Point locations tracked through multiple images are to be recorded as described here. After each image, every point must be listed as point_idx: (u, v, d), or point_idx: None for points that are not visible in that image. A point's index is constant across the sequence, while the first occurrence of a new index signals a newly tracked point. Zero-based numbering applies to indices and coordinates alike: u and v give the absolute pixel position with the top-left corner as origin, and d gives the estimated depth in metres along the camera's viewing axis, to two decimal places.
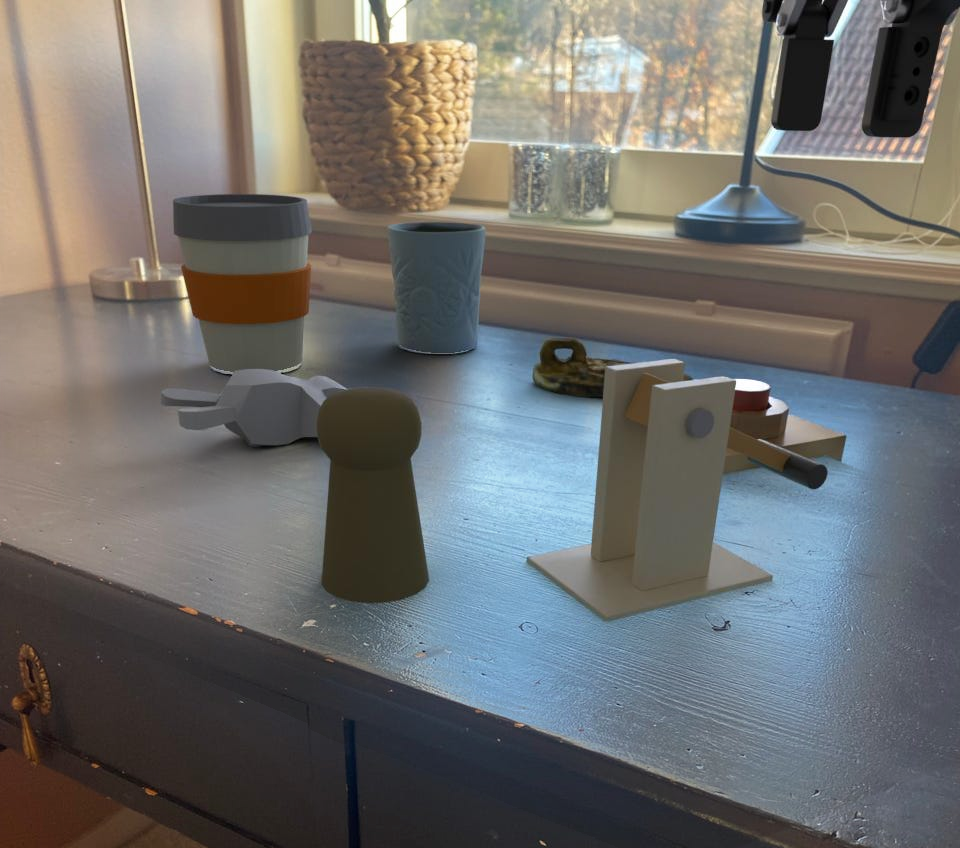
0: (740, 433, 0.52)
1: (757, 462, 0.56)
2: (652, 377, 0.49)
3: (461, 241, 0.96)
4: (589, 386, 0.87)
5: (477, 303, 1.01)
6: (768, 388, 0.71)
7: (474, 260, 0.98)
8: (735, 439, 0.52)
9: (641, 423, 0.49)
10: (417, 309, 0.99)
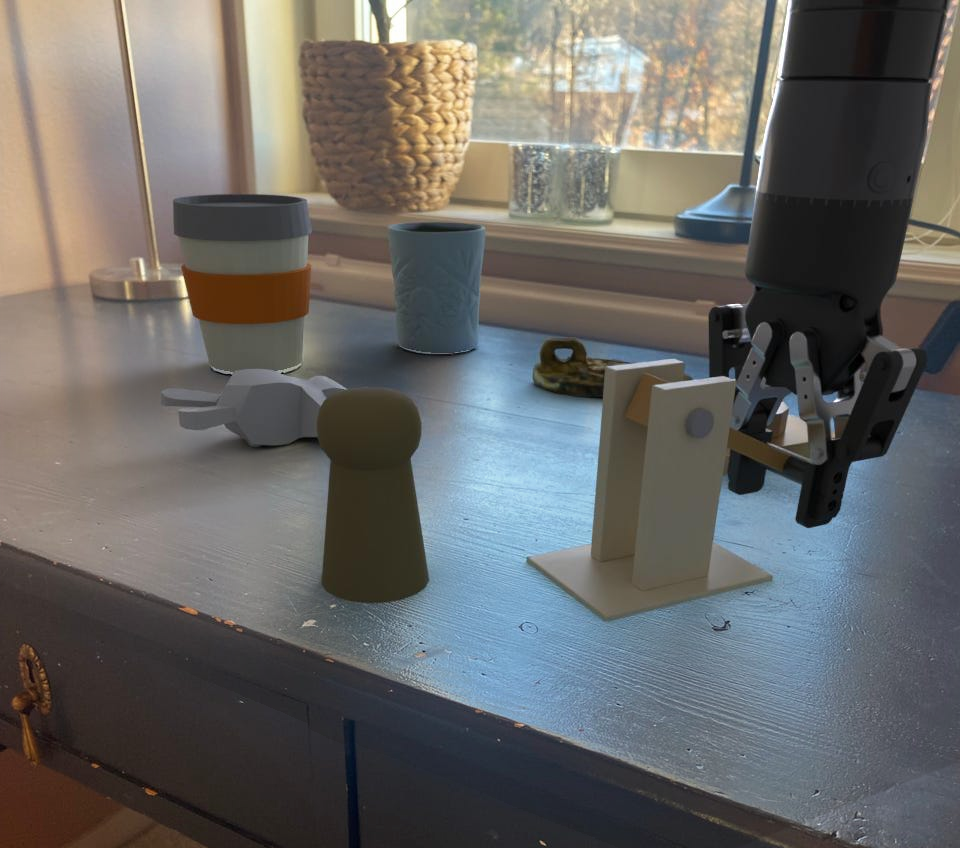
0: (740, 433, 0.52)
1: (757, 462, 0.56)
2: (652, 377, 0.49)
3: (461, 241, 0.96)
4: (589, 386, 0.87)
5: (477, 303, 1.01)
6: None
7: (474, 260, 0.98)
8: (735, 439, 0.52)
9: (641, 423, 0.49)
10: (417, 309, 0.99)
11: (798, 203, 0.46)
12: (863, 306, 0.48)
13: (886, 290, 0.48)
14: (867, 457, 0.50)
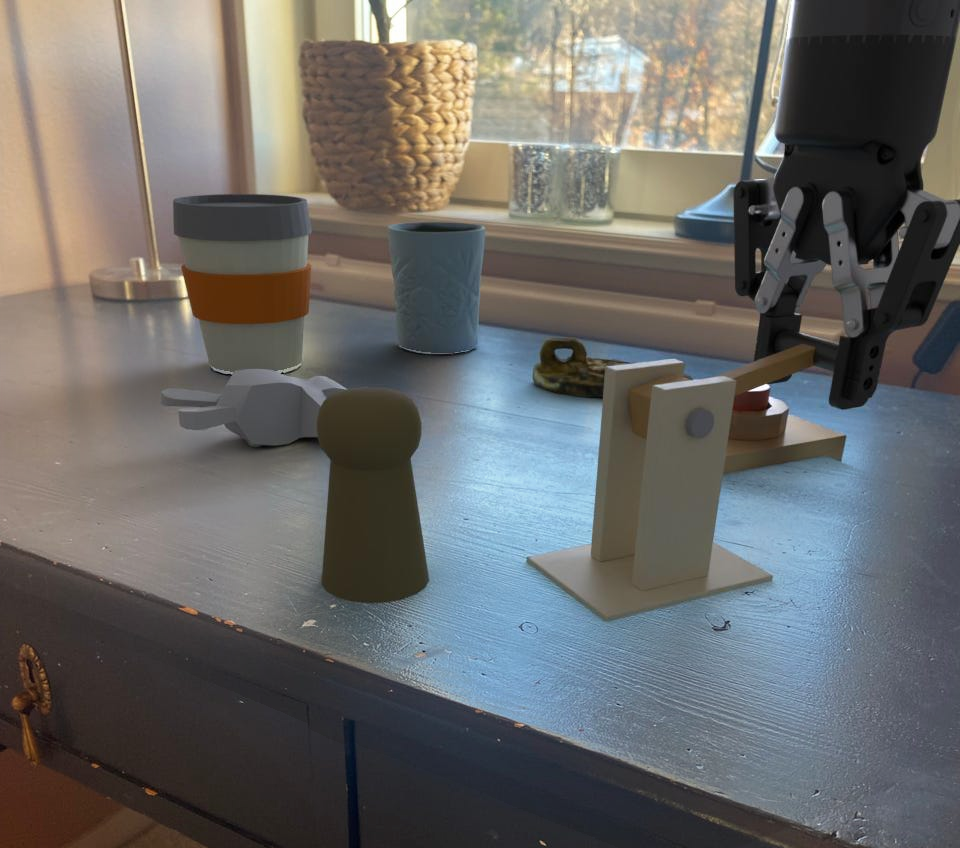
0: (751, 373, 0.50)
1: None
2: (638, 394, 0.49)
3: (461, 241, 0.96)
4: (589, 386, 0.87)
5: (477, 303, 1.01)
6: (768, 388, 0.71)
7: (474, 260, 0.98)
8: (749, 381, 0.50)
9: None
10: (417, 309, 0.99)
11: (834, 42, 0.43)
12: (902, 156, 0.45)
13: (927, 141, 0.45)
14: (907, 324, 0.47)
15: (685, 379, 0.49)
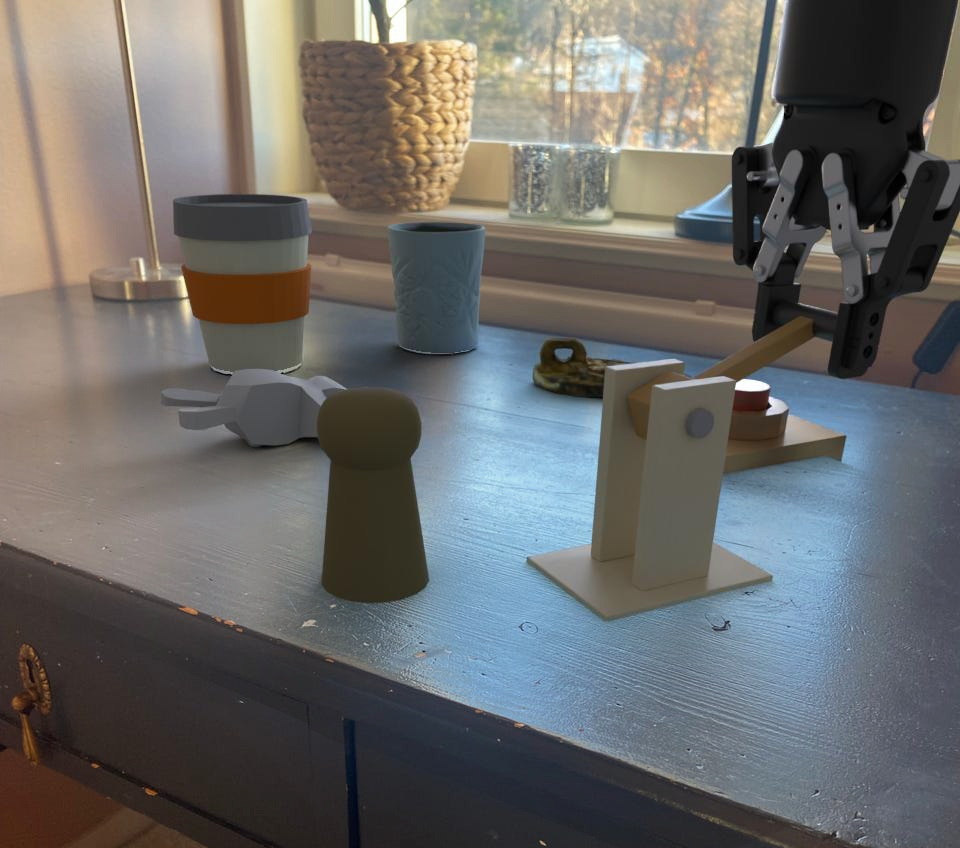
0: (749, 358, 0.50)
1: None
2: (635, 400, 0.49)
3: (461, 241, 0.96)
4: (589, 386, 0.87)
5: (477, 303, 1.01)
6: (768, 388, 0.71)
7: (474, 260, 0.98)
8: (748, 366, 0.50)
9: None
10: (417, 309, 0.99)
11: None
12: (904, 115, 0.44)
13: (929, 100, 0.44)
14: (908, 289, 0.46)
15: (681, 377, 0.49)
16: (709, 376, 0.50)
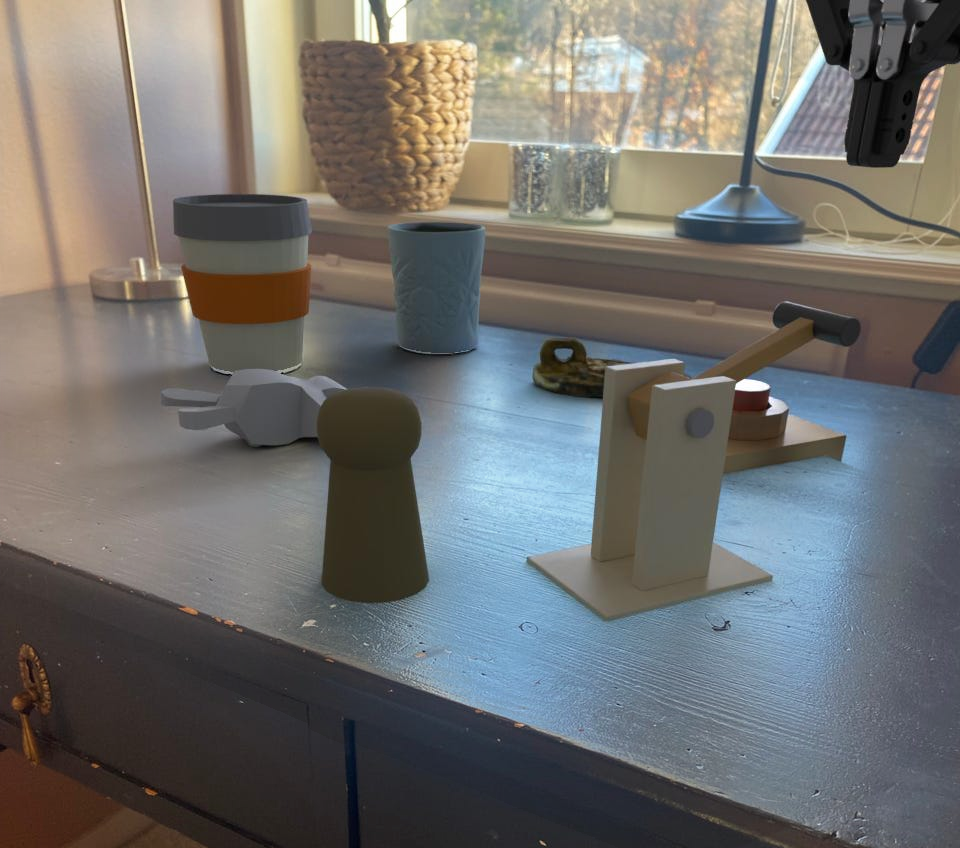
0: (749, 359, 0.50)
1: None
2: (635, 400, 0.49)
3: (461, 241, 0.96)
4: (589, 386, 0.87)
5: (477, 303, 1.01)
6: (768, 388, 0.71)
7: (474, 260, 0.98)
8: (748, 367, 0.50)
9: None
10: (417, 309, 0.99)
11: None
12: None
13: None
14: (945, 56, 0.44)
15: (682, 377, 0.49)
16: (709, 376, 0.50)
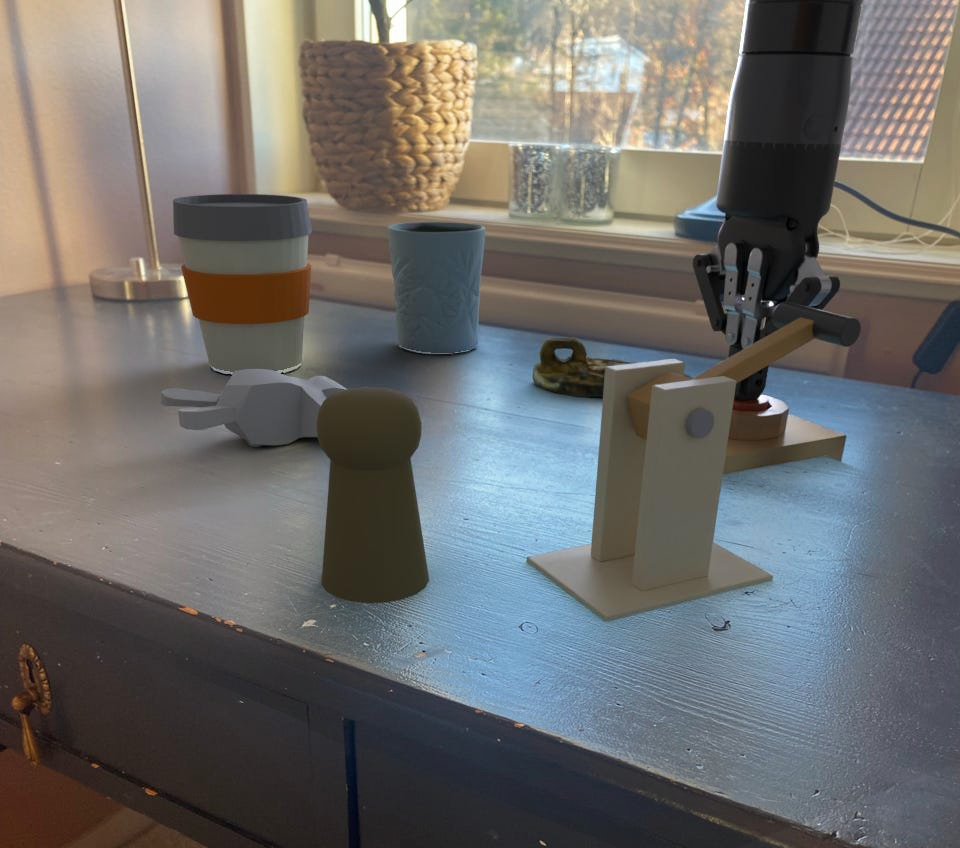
0: (749, 359, 0.50)
1: None
2: (635, 400, 0.49)
3: (461, 241, 0.96)
4: (589, 386, 0.87)
5: (477, 303, 1.01)
6: (766, 401, 0.72)
7: (474, 260, 0.98)
8: (748, 367, 0.50)
9: None
10: (417, 309, 0.99)
11: (754, 146, 0.62)
12: (803, 226, 0.63)
13: (821, 214, 0.64)
14: None
15: (682, 377, 0.49)
16: (709, 376, 0.50)
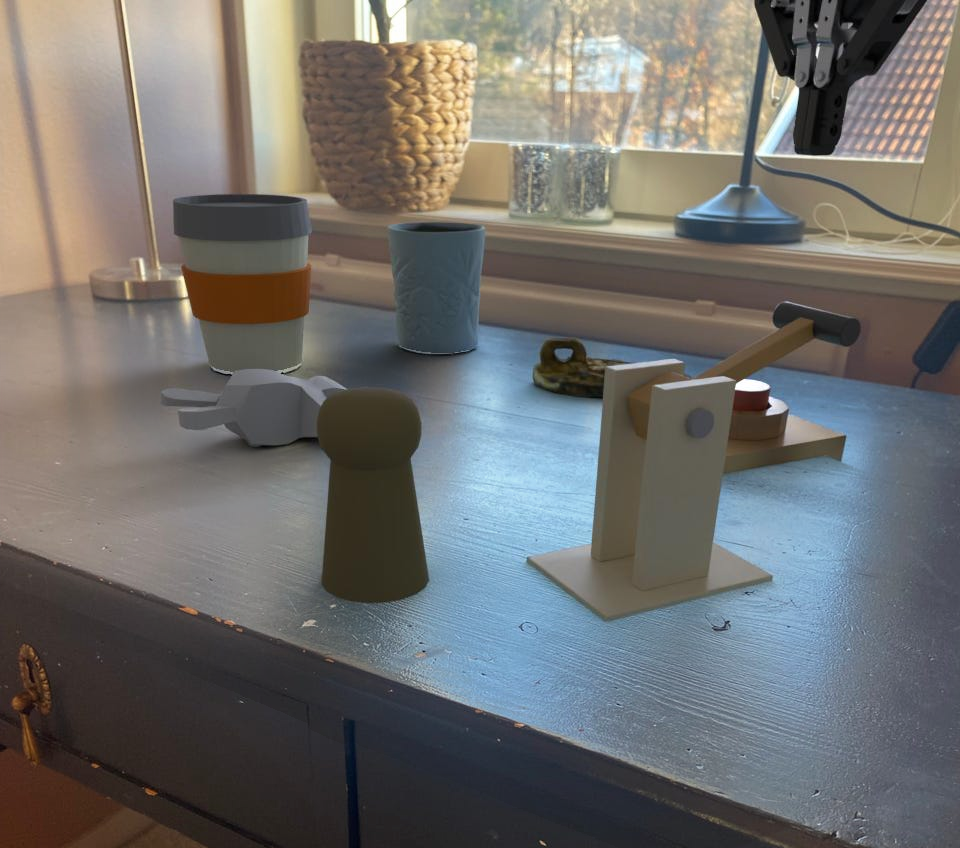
0: (749, 359, 0.50)
1: None
2: (635, 400, 0.49)
3: (461, 241, 0.96)
4: (589, 386, 0.87)
5: (477, 303, 1.01)
6: (768, 388, 0.71)
7: (474, 260, 0.98)
8: (748, 367, 0.50)
9: None
10: (417, 309, 0.99)
11: None
12: None
13: None
14: (863, 70, 0.59)
15: (682, 377, 0.49)
16: (709, 376, 0.50)
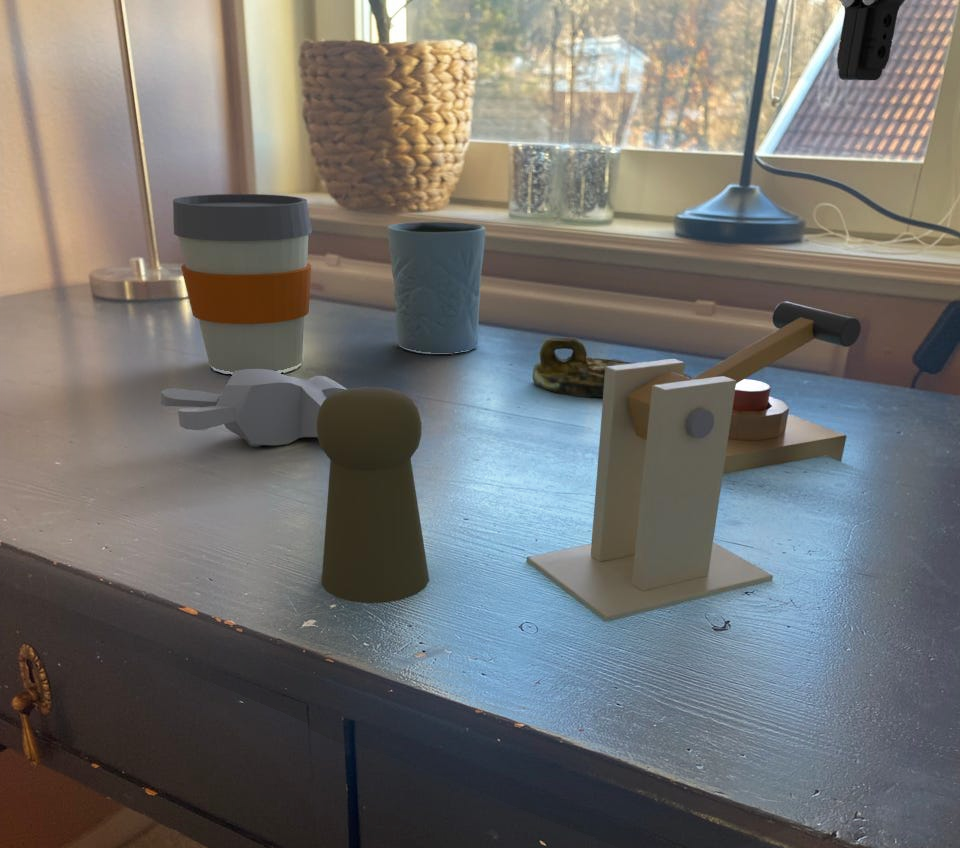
0: (749, 359, 0.50)
1: None
2: (635, 400, 0.49)
3: (461, 241, 0.96)
4: (589, 386, 0.87)
5: (477, 303, 1.01)
6: (768, 388, 0.71)
7: (474, 260, 0.98)
8: (748, 367, 0.50)
9: None
10: (417, 309, 0.99)
11: None
12: None
13: None
14: None
15: (682, 377, 0.49)
16: (709, 376, 0.50)
